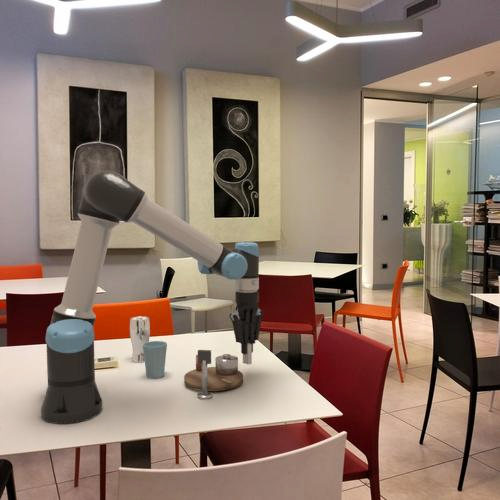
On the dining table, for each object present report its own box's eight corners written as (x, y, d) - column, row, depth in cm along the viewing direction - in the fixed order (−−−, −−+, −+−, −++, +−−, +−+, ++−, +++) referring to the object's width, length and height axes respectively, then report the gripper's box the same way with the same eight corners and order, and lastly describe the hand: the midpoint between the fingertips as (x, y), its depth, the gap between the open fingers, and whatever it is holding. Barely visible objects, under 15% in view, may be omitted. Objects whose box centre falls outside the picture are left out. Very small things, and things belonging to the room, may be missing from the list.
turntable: (206, 395, 145) (206, 373, 145) (172, 379, 159) (172, 359, 159) (255, 381, 157) (255, 361, 157) (219, 368, 171) (219, 349, 170)
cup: (170, 377, 163) (169, 345, 163) (146, 380, 160) (145, 347, 160) (164, 371, 170) (163, 339, 170) (141, 374, 167) (140, 342, 167)
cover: (224, 377, 156) (224, 359, 156) (211, 372, 162) (210, 354, 161) (242, 372, 161) (242, 355, 160) (228, 367, 166) (228, 350, 166)
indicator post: (210, 399, 144) (210, 352, 143) (195, 399, 144) (194, 352, 143) (214, 394, 148) (213, 348, 147) (199, 393, 149) (198, 348, 148)
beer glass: (152, 361, 181) (151, 319, 180) (132, 363, 179) (131, 320, 178) (148, 356, 188) (147, 315, 187) (129, 358, 185) (128, 317, 184)
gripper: (238, 294, 158) (238, 369, 159) (270, 290, 166) (269, 362, 168) (223, 291, 163) (224, 364, 165) (254, 287, 172) (254, 357, 174)
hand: (247, 363), depth 166 cm, fingers closed
